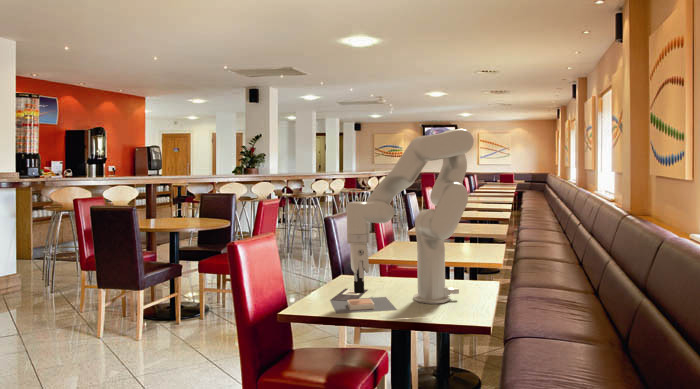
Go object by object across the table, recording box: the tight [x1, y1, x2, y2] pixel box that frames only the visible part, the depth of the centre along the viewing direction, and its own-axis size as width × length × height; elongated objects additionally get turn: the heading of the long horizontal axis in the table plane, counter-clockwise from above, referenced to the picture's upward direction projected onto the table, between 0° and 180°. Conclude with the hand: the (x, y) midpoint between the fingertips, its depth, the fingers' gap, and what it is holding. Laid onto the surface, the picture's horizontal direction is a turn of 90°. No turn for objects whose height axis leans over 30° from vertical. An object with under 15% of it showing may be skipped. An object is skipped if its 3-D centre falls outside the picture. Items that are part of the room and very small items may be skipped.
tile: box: [347, 299, 374, 310], centre depth 187 cm, size 8×2×7 cm
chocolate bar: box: [330, 288, 369, 301], centre depth 204 cm, size 9×1×18 cm
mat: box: [329, 296, 398, 315], centre depth 189 cm, size 20×18×1 cm
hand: (359, 292), depth 189 cm, fingers closed
